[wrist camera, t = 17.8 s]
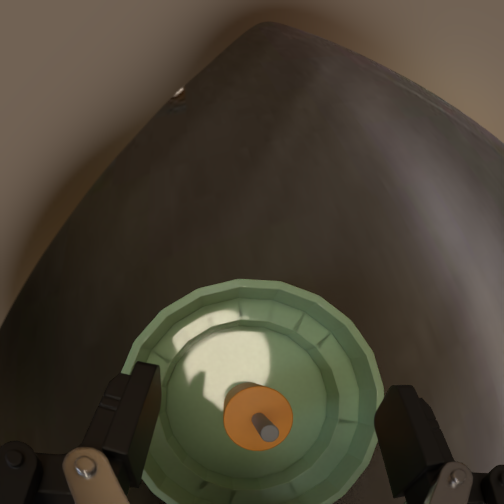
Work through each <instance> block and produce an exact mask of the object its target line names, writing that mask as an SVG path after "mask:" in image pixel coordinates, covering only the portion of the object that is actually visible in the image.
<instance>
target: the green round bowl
mask: <svg viewBox="0 0 504 504" xmlns="http://www.w3.org/2000/svg"><path fill="white" fill-rule="evenodd" d="M137 361H141V362H146V363H151V364H156V365H159V366H160V376H161V391H162V400H161V407H160V412H159V415H158V419H157V422H156V426H155V429H154V433H153V437H152V440H151V444H150V447H149V451H148V455H147V459H146V462H145V466H144V470H143V474H142V479H143V481H144V482H145V483H146V485H147V486H148V487H149V489H150V490H151V491H152V492H153V493H154V494H155V495H156V496H157V497H159V498H160V499H161V500H163V501H164V502H166V503H167V504H332V503H334V502H335V501H337V500H338V499H339V498H341V497H342V496H344V495H345V494H346V493H347V491H348V490H349V489H350V488H351V486H352V485H353V484H354V483H355V481H356V480H357V479H358V478H359V476H360V475H361V474H362V473H363V471H364V470H365V469H366V467H367V466H368V465H369V463H370V460H371V458H372V455H373V452H374V450H375V447H376V444H377V442H378V439H377V435H376V432H375V428H374V416H375V413H376V411H377V409H378V407H379V405H380V404H381V402H382V400H383V399H384V387H383V384H382V380H381V377H380V373H379V370H378V366H377V363H376V360H375V356H374V353H373V351H372V350H371V348H370V347H369V345H368V344H367V342H366V341H365V339H364V338H363V337H362V335H361V334H360V332H359V331H358V329H357V328H356V326H355V325H354V324H353V322H352V321H351V320H350V319H349V318H348V317H347V316H345V315H344V314H343V313H341V312H340V311H339V310H337V309H336V308H335V307H334V306H332V305H331V304H330V303H328V302H327V301H326V300H324V299H323V298H322V297H321V296H319V295H317V294H314V293H311V292H308V291H306V290H303V289H300V288H298V287H295V286H292V285H290V284H287V283H284V282H280V281H268V280H252V279H236V280H231V281H227V282H223V283H219V284H215V285H211V286H206V287H202V288H199V289H196V290H194V291H193V292H191V293H189V294H188V295H186V296H184V297H183V298H181V299H179V300H178V301H176V302H174V303H173V304H171V305H169V306H168V307H166V308H164V309H162V311H160V312H159V314H158V315H157V316H156V317H155V318H154V319H153V320H152V321H151V323H150V324H149V325H148V326H147V327H146V328H145V329H144V331H143V332H142V333H141V334H140V335H139V336H138V337H137V339H136V340H135V342H134V343H133V345H132V347H131V350H130V352H129V355H128V357H127V359H126V362H125V364H124V367H123V369H122V372H121V373H124V374H128V375H131V372H132V370H133V368H134V365H135V363H136V362H137ZM247 382H249V383H256V384H259V385H263V386H266V387H269V388H272V389H275V390H277V391H278V392H280V393H281V394H282V395H283V396H284V397H285V398H286V399H287V400H288V402H289V404H290V405H291V408H292V412H293V424H292V428H291V430H290V432H289V434H288V436H287V437H286V438H285V440H284V441H283V442H281V443H280V444H279V445H277V446H276V447H274V448H271V449H268V450H264V451H251V450H247V449H244V448H242V447H240V446H238V445H237V444H235V443H234V442H233V441H232V440H231V439H230V438H229V436H228V435H227V433H226V431H225V428H224V423H223V410H224V400H225V397H226V395H227V393H228V392H229V391H230V390H231V389H232V388H233V387H235V386H236V385H238V384H241V383H247Z"/></svg>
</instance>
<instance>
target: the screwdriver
mask: <svg viewBox="0 0 504 504" xmlns="http://www.w3.org/2000/svg"><path fill="white" fill-rule="evenodd" d="M223 423H224V428H225V431H226V433H227V435H228V436H229V438H230V439H231V440H232V441H233V442H234V443H235V444H237V445H238V446H240V447H242V448H244V449H247V450H251V451H264V450H268V449H271V448H274V447H276V446H277V445H279V444H280V443H281V442H283V441H284V440H285V438H286V437H287V436H288V434H289V432H290V430H291V428H292V424H293V412H292V408H291V405H290V404H289V402H288V400H287V399H286V398H285V397H284V396H283V395H282V394H281V393H280V392H278V391H277V390H275V389H272V388H269V387H266V386H263V385H259V384H256V383H249V382H247V383H241V384H238V385H236V386H235V387H233V388H232V389H231V390H230V391H229V392H228V393H227V395H226V397H225V400H224V410H223Z"/></svg>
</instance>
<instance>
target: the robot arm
mask: <svg viewBox="0 0 504 504" xmlns="http://www.w3.org/2000/svg"><path fill="white" fill-rule="evenodd" d="M161 400H162V391H161V376H160V366H159V365H156V364H151V363H146V362H141V361H137V362H136V363H135V365H134V368H133V370H132V372H131V375H128V374H124V373H119V374H118V375H117V376H116V377H115V378H113V379H112V380H111V381H110V382H109V384H108V386H107V388H106V390H105V393H104V396H103V397H102V399H101V401H100V403H99V406H98V408H97V410H96V412H95V414H94V417H93V419H92V421H91V423H90V426H89V428H88V430H87V433H86V435H85V437H84V440H83V441H82V443H81V444H80V446H79V447H78V448H75V449H73V450H71V451H70V452H69V453H67V454H44V453H35V452H34V451H33V449H32V448H31V447H30V446H29V445H27V444H26V443H24V442H20V441H10V442H7V443H5V444H4V445H3V446H1V447H0V504H130V503H129V501H128V499H127V494H128V490H129V486H131V487H135V488H139V485H140V481H141V478H142V474H143V470H144V466H145V462H146V459H147V455H148V451H149V447H150V444H151V440H152V437H153V433H154V429H155V426H156V422H157V419H158V415H159V412H160V407H161ZM435 419H436V418H435V415H434V413H433V411H432V409H431V407H430V406H429V405H428V404H427V403H426V402H425V401H424V400H423V399H422V398H418V395H417V393H416V391H415V389H414V387H413V386H412V385H393V386H391V387H390V388H389V390H388V392H387V393H386V395H385V397H384V399H383V400H382V402H381V404H380V405H379V407H378V409H377V411H376V413H375V416H374V428H375V432H376V435H377V439H378V442H379V446H380V449H381V453H382V456H383V460H384V463H385V467H386V471H387V475H388V478H389V482H390V486H391V490H392V494H393V498H398V497H403V496H405V498H406V501H405V502H404V504H504V465H498V466H496V467H494V468H493V469H492V470H491V471H490V472H489V473H472V472H471V471H470V469H469V468H468V467H467V466H466V465H464V464H463V463H460V462H456V461H454V459H453V457H452V454H451V452H450V450H449V447H448V445H447V443H446V440H445V438H444V436H443V433H442V431H441V429H439V424H438V422H437V420H435Z"/></svg>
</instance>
